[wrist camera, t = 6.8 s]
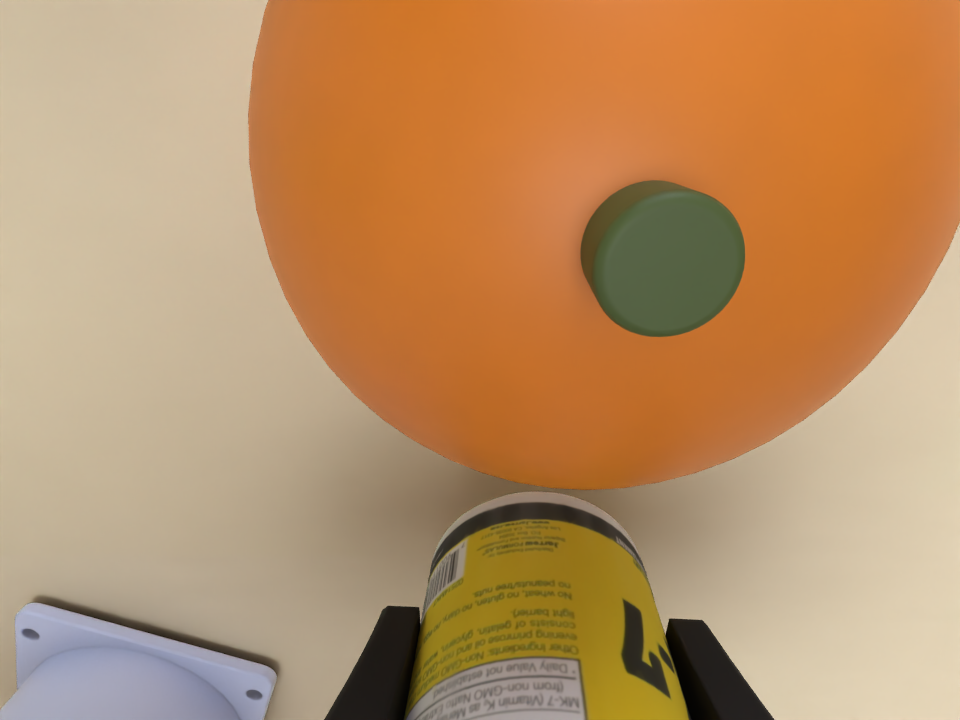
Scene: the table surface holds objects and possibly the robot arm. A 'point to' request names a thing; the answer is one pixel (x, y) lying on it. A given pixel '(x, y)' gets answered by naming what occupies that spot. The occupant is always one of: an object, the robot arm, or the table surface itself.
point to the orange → (603, 214)
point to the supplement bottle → (541, 620)
